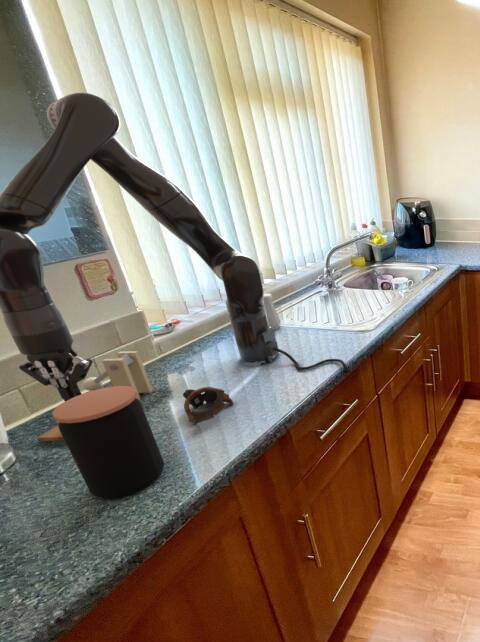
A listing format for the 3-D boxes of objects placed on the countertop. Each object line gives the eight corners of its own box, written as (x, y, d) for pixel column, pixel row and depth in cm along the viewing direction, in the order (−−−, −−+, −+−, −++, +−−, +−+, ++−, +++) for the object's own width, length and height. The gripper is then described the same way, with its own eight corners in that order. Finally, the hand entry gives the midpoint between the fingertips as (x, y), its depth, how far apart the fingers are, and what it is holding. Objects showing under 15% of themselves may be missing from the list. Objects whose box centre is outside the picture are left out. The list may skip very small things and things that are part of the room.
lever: (87, 395, 100) (75, 385, 99) (99, 388, 103) (88, 378, 102) (127, 367, 98) (115, 357, 97) (138, 361, 101) (126, 351, 100)
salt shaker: (273, 332, 144) (265, 297, 140) (259, 330, 145) (251, 296, 141) (285, 326, 150) (278, 292, 145) (271, 324, 151) (264, 291, 146)
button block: (129, 419, 96) (123, 405, 94) (94, 444, 87) (87, 429, 86) (80, 420, 95) (73, 406, 94) (41, 446, 87) (33, 430, 85)
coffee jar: (123, 462, 82) (89, 386, 75) (179, 460, 83) (150, 384, 76) (75, 504, 72) (31, 420, 66) (139, 500, 73) (102, 417, 66)
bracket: (103, 409, 99) (83, 363, 95) (130, 392, 107) (113, 349, 102) (146, 408, 100) (128, 362, 95) (169, 391, 107) (154, 348, 103)
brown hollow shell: (246, 404, 102) (233, 389, 96) (218, 438, 96) (203, 424, 90) (205, 389, 103) (189, 373, 97) (175, 421, 98) (156, 406, 91)
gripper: (89, 319, 85) (119, 389, 92) (23, 321, 85) (58, 391, 91) (54, 333, 78) (89, 408, 85) (-18, 335, 78) (23, 411, 84)
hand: (73, 399), depth 88 cm, fingers closed
